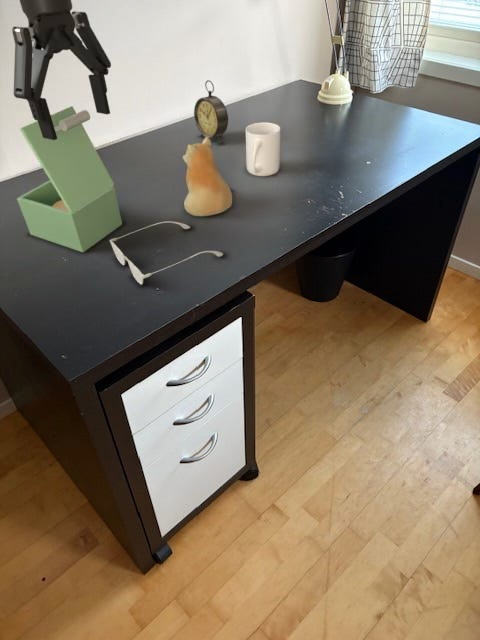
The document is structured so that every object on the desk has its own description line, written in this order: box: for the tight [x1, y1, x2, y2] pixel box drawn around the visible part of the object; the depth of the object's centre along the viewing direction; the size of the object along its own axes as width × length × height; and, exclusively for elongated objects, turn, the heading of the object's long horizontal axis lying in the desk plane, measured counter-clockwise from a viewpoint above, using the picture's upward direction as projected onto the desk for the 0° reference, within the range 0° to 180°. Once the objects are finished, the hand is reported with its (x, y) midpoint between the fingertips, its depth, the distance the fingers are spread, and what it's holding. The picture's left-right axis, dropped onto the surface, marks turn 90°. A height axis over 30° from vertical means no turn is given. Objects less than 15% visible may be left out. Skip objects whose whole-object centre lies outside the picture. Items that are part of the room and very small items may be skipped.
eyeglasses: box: [109, 220, 224, 285], centre depth 95 cm, size 15×18×4 cm
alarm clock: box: [193, 79, 229, 145], centre depth 136 cm, size 11×5×16 cm, turn 42°
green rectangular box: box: [16, 179, 123, 253], centre depth 103 cm, size 16×13×9 cm
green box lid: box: [19, 105, 115, 213], centre depth 90 cm, size 17×13×8 cm
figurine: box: [182, 137, 233, 217], centre depth 107 cm, size 12×13×15 cm
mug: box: [245, 122, 281, 177], centre depth 120 cm, size 9×12×11 cm
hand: (78, 125), depth 86 cm, fingers open, 13 cm apart
